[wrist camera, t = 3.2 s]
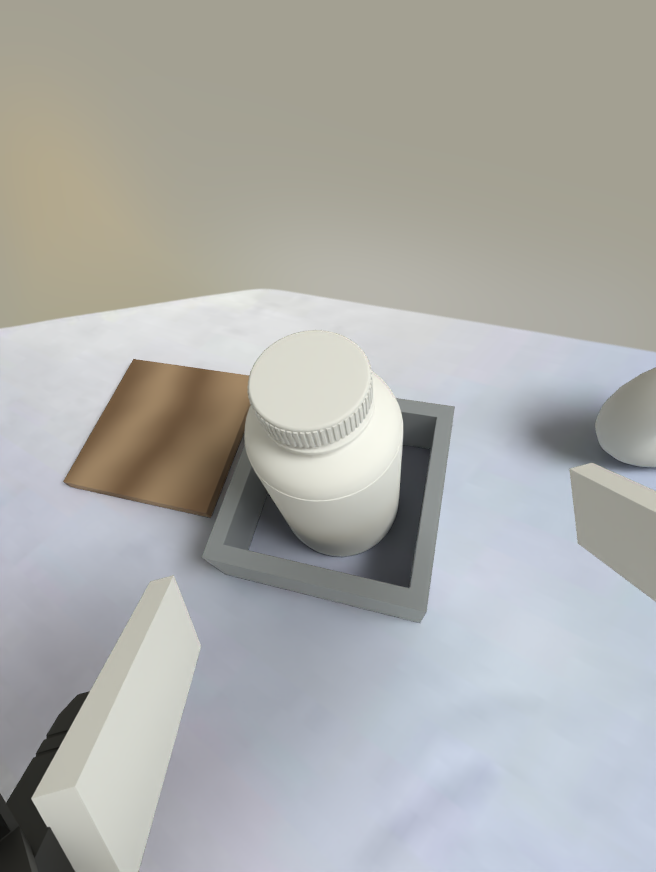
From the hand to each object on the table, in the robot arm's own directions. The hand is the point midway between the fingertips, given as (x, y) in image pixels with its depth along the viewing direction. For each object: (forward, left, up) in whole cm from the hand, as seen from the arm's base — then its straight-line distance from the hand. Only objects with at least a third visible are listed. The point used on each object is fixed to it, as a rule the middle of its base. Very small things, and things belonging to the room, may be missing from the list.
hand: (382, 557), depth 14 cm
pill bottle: (-4, +7, -15) cm, 17 cm away
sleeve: (-4, +7, -15) cm, 17 cm away
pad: (-19, +10, -15) cm, 26 cm away
